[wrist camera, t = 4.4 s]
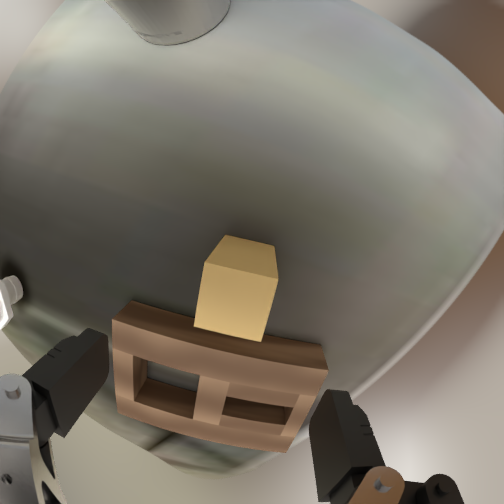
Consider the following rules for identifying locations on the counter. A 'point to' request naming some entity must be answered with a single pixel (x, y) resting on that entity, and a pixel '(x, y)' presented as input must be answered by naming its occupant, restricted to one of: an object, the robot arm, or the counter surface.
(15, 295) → the pipe fitting
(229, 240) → the square peg
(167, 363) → the socket block
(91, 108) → the counter surface
